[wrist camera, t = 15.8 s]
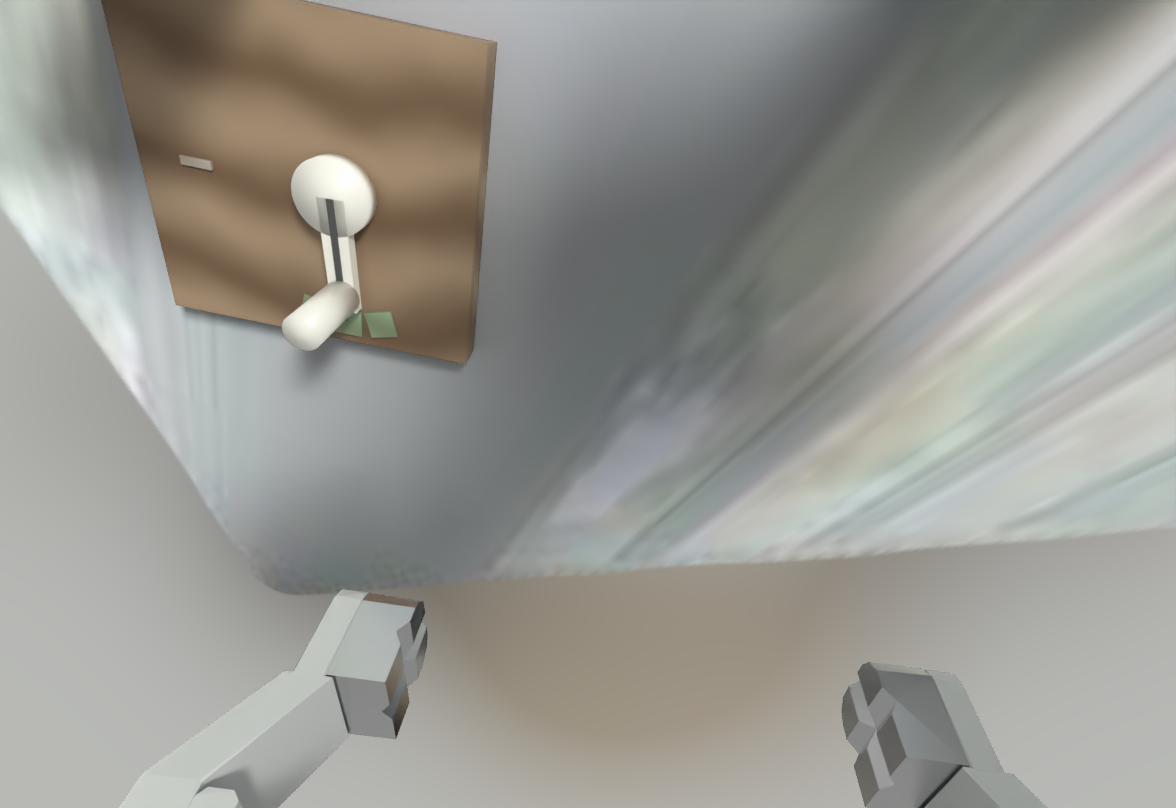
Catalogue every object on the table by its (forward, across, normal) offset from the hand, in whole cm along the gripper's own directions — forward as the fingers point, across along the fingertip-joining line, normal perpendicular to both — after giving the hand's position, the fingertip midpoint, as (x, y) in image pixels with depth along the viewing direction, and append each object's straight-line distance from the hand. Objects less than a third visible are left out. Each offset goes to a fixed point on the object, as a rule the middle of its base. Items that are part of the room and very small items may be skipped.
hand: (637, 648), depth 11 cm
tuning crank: (+27, +18, +3) cm, 32 cm away
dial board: (+29, +20, +1) cm, 35 cm away
